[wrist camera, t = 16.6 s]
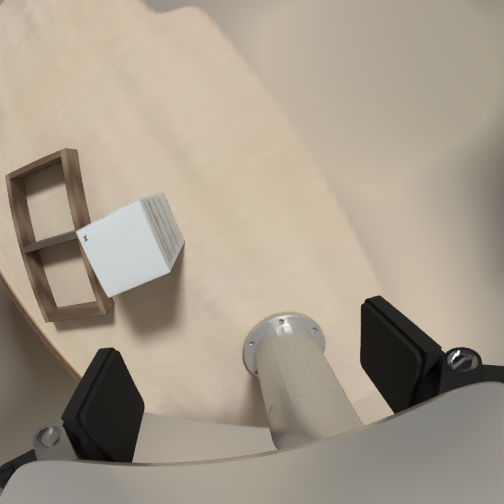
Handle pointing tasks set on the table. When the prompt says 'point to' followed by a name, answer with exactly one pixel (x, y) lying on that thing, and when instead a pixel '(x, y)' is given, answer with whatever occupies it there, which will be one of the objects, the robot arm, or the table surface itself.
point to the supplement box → (132, 244)
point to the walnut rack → (31, 246)
